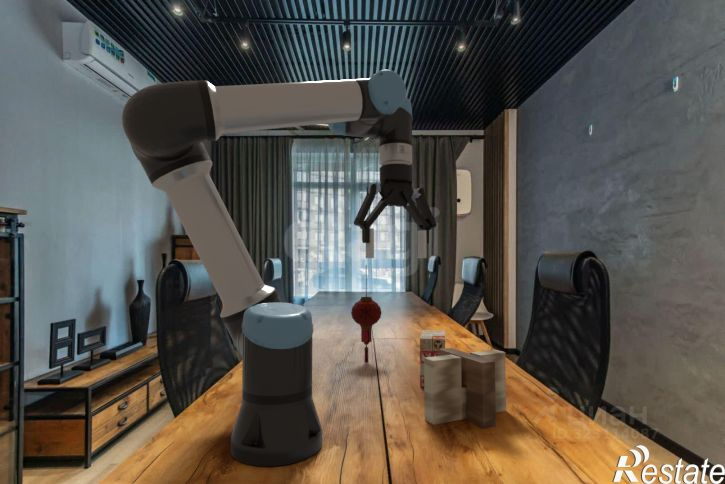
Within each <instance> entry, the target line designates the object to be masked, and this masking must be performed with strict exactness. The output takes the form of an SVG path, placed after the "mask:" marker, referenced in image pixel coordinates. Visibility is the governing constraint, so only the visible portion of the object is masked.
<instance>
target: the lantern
mask: <svg viewBox="0 0 725 484" xmlns="http://www.w3.org/2000/svg"><path fill="white" fill-rule="evenodd" d="M367 274H368V273H367V264H365V296H361V297H360V299H359V300H358V301H356V302H355V303H354V305H353V306H352V307H351V312H350V313H351V318H352V319H353V321H354V322H355V323H356V324H357V325H359V326H360V329H361V330H360V333H361V334H360V336H361V337H360V338H361V339H360V340H361V343H363V344H364V345H365V347H364V363H369V346H368V345H369V344H370V343H372V341H373V340H372V329H373V326H374V325H375V324H377V323H378V322H379V320H380V319H381V317H382V310H381V306H380V305H379V303H378V302H376V301H374V300H373V298H372V296H368V294H367V293H368V291H367V288H368V287H367V286H368V283H367V280H368V279H367Z"/></svg>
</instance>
